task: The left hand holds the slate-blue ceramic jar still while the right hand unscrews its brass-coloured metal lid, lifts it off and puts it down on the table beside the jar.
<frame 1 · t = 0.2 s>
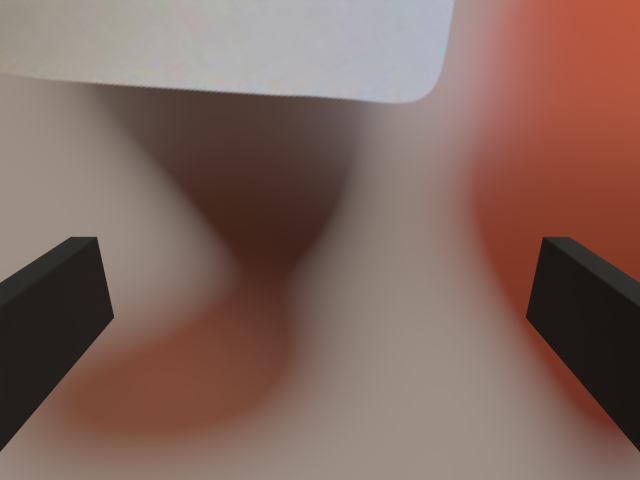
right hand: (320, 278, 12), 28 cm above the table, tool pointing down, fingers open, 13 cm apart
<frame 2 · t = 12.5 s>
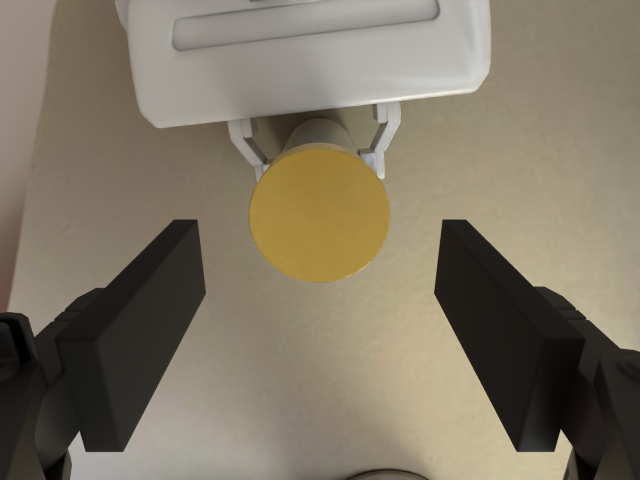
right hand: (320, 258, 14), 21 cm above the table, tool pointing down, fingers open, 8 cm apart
lid: (319, 217, 18), point 16 cm above the table, screwed on, not yet turned
jar: (319, 151, 33), on the table, touching left hand
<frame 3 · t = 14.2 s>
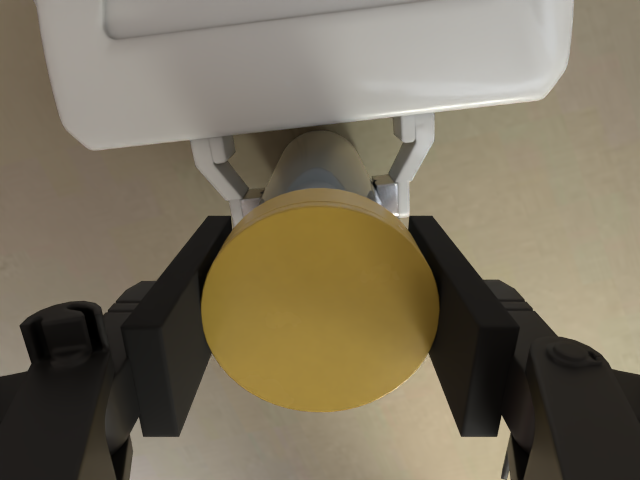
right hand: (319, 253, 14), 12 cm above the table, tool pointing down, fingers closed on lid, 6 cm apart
lid: (320, 312, 11), point 16 cm above the table, screwed on, not yet turned, touching right hand
jar: (320, 173, 26), on the table, touching left hand
when the right hand's fingers open (13 cm above the table, at t = 15.7 s): lid stays where it is, point 17 cm above the table.
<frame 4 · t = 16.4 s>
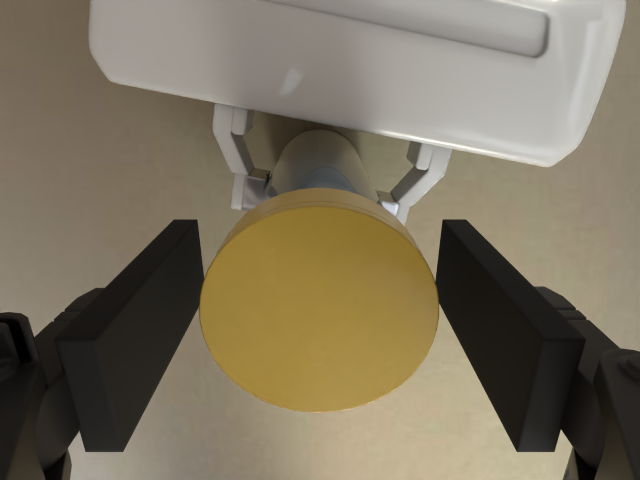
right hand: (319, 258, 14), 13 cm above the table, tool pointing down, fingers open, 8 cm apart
lid: (319, 313, 11), point 17 cm above the table, turned 104° so far, risen 0.3 cm, still on its thread
jar: (319, 172, 26), on the table, touching left hand
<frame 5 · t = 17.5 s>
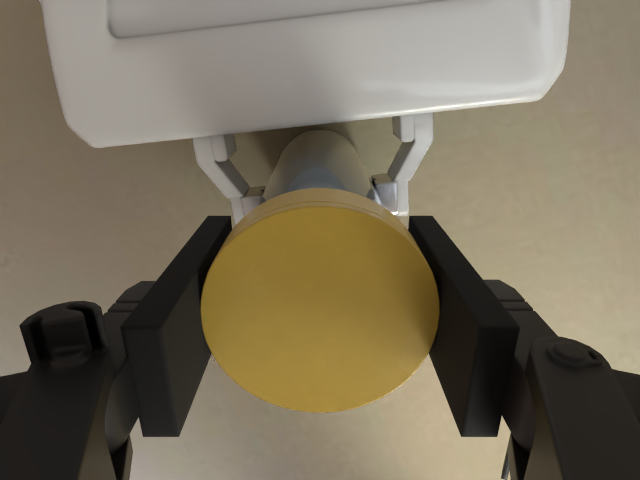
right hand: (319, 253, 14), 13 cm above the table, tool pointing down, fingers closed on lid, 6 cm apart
lid: (320, 313, 11), point 17 cm above the table, turned 104° so far, risen 0.3 cm, still on its thread, touching right hand
jar: (320, 172, 26), on the table, touching left hand
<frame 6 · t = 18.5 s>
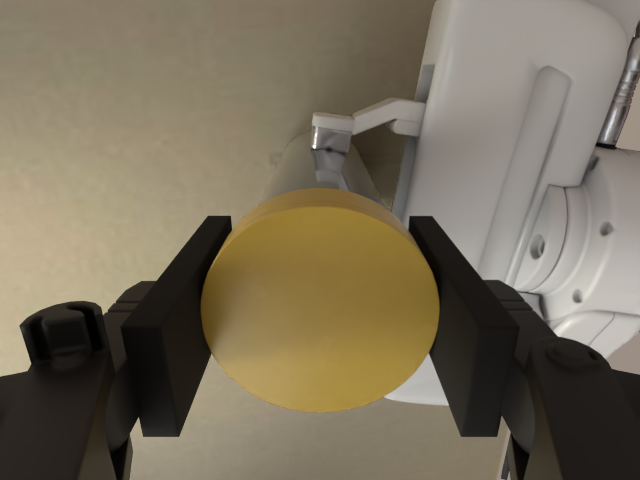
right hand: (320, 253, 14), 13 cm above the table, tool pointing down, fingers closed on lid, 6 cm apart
left hand: (302, 199, 20), fingers closed on jar, 5 cm apart
lid: (320, 313, 11), point 17 cm above the table, off its thread, touching right hand
jar: (320, 171, 26), on the table, touching left hand
when the right hand's fingers open (0 cm above the table, at t = 25.2 s): lid stays where it is, point 1 cm above the table.
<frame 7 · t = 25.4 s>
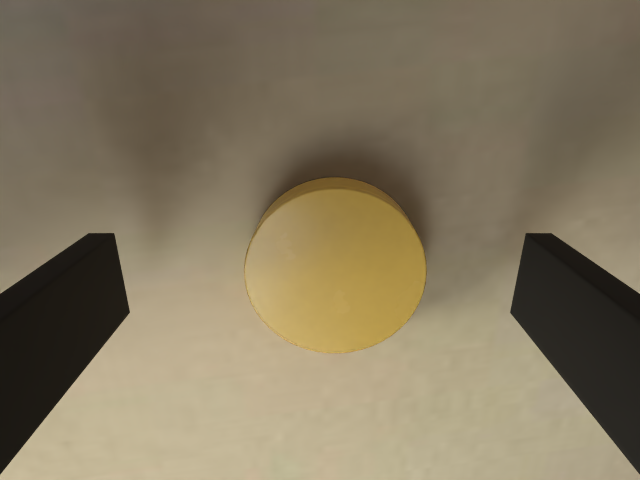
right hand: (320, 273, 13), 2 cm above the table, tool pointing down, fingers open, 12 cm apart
lid: (334, 273, 14), point 1 cm above the table, off its thread
when the left hand's fingers open (7 cm above the table, at t = 25.9 s): jar stays where it is, on the table.
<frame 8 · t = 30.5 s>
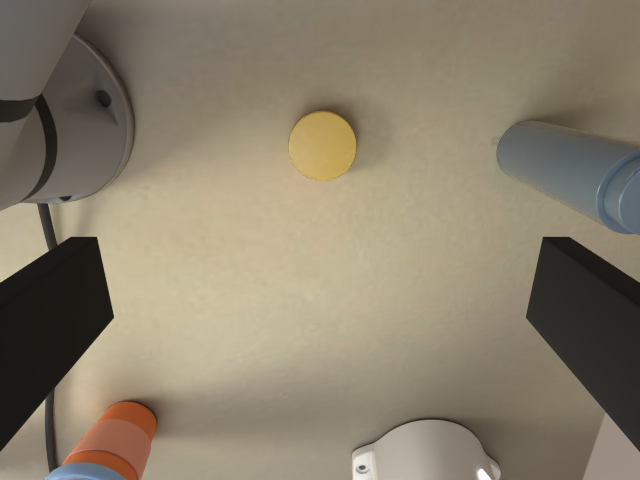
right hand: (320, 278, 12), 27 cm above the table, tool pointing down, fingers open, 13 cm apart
lid: (322, 146, 37), point 1 cm above the table, off its thread
jar: (525, 149, 38), on the table
cup with straw: (132, 419, 50), on the table
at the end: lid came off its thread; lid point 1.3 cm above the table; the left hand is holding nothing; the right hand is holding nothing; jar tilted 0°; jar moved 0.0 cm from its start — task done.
